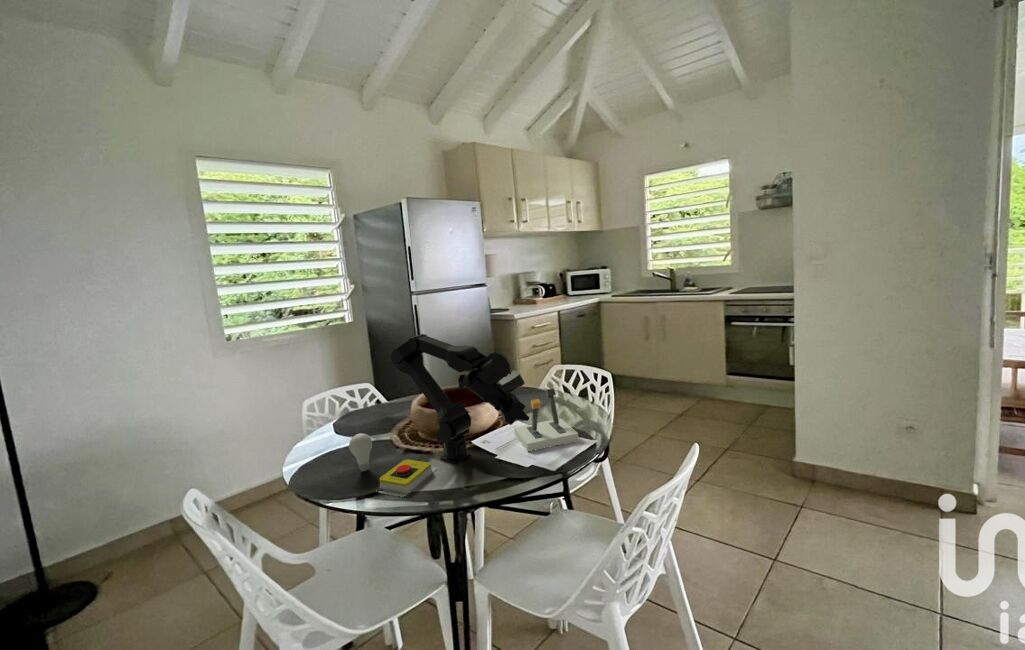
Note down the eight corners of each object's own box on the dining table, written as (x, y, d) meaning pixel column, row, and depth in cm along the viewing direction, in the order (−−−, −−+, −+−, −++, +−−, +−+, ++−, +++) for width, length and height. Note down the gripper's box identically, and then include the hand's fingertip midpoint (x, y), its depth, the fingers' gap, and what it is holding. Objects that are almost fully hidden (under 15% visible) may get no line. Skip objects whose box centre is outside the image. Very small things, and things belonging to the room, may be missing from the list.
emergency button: (372, 477, 110) (409, 451, 123) (374, 493, 111) (410, 465, 124) (402, 483, 106) (436, 455, 120) (404, 499, 107) (438, 469, 120)
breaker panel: (527, 452, 125) (523, 405, 123) (514, 435, 138) (511, 392, 135) (578, 441, 129) (575, 396, 127) (561, 425, 142) (558, 384, 139)
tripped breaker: (531, 432, 131) (533, 403, 125) (529, 428, 132) (531, 400, 127) (539, 431, 131) (540, 402, 126) (537, 427, 133) (538, 398, 128)
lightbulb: (355, 478, 118) (349, 441, 116) (351, 469, 124) (346, 433, 122) (377, 472, 121) (372, 435, 119) (373, 463, 126) (368, 427, 124)
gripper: (514, 372, 107) (558, 406, 112) (496, 356, 125) (535, 387, 130) (486, 408, 107) (532, 441, 111) (471, 387, 124) (512, 416, 129)
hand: (528, 419), depth 120 cm, fingers closed
